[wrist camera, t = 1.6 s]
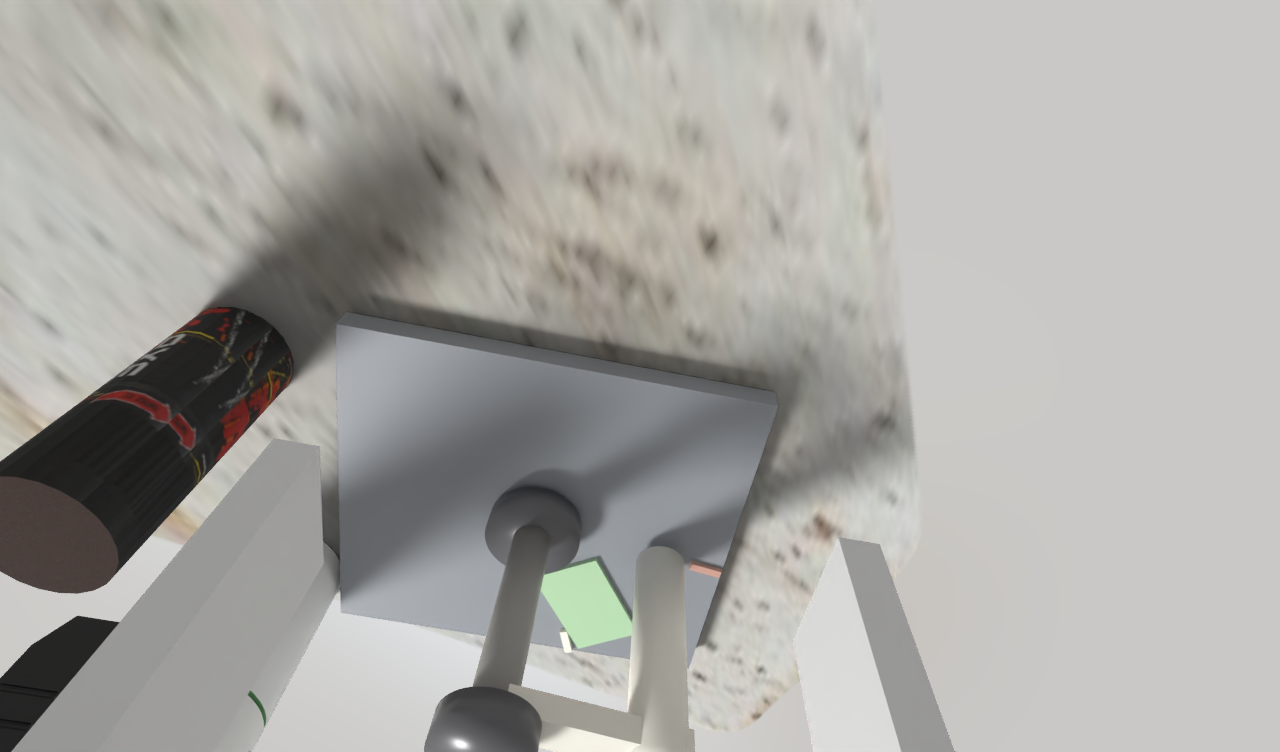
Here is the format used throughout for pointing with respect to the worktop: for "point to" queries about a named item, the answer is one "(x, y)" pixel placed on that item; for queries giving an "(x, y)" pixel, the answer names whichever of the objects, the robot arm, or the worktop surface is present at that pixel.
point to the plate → (530, 477)
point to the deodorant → (135, 450)
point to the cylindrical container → (283, 660)
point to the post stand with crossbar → (497, 703)
